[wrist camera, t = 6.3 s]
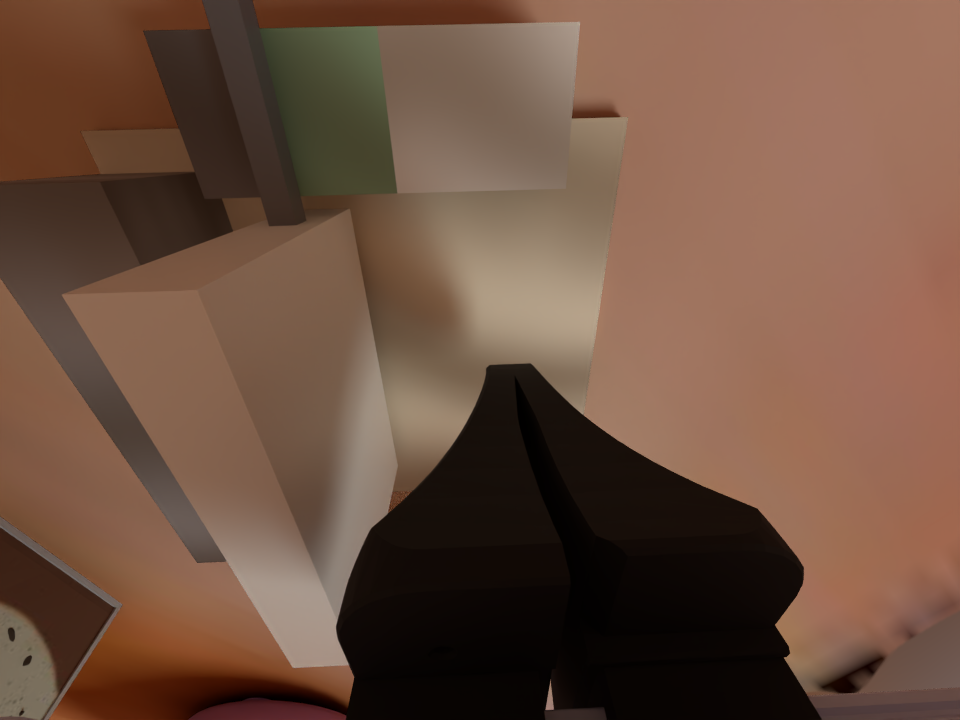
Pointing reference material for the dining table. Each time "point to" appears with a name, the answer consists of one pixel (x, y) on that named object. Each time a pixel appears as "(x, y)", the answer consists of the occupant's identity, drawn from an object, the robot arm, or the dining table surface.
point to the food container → (44, 625)
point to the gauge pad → (261, 375)
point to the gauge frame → (355, 214)
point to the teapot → (267, 711)
